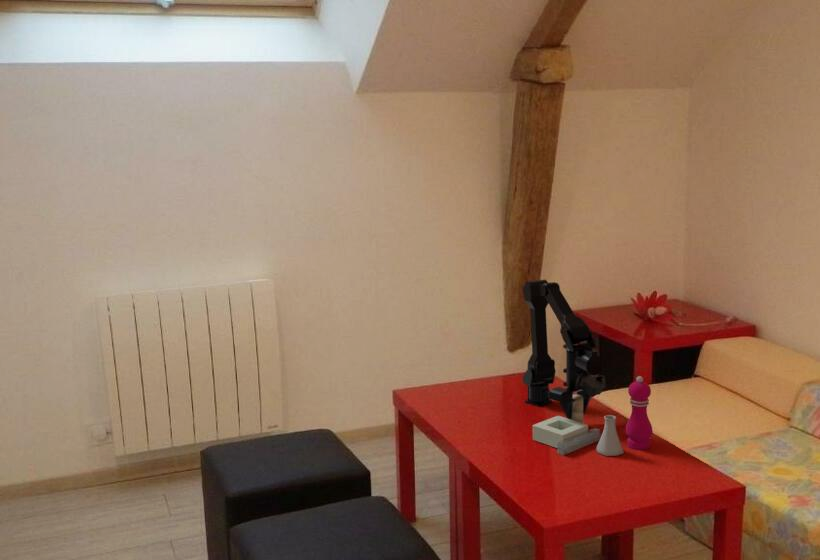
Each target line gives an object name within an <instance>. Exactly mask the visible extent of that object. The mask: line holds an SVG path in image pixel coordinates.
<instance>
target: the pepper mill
mask: <svg viewBox="0 0 820 560" xmlns="http://www.w3.org/2000/svg"><path fill="white" fill-rule="evenodd" d="M635 379H636V381H633V382H632V383H630V384H629V386H628V390H627V391H628V392H627V393H628V395H629V396H630V398H629V400H630V401H629V403H630V405H631V415H630V416H629V419H628V421H627V423H626V426H625V434H626V436H628V437H627V439H626V441H627V442H626V444H627V447H628V448H631V449H633V450H641V451H642V450H643V451H644V450H647V449H649V448H650V447H651V445H652V444H651V443H652V441H651V439H650V438H651V436H653V433H654V431H653V426H652V424H651V421H650V419H649V417H648V406H649V404H650V403H649V402H650V399H649V397H650V396H651V394H652V391H651V389H652V388H651V386H650V385H649V384H648V383H647V382H645V381H644V377H642V376H640V375H638V376H637V377H636V378H635Z"/></svg>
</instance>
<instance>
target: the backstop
mask: <svg viewBox="0 0 820 560" xmlns="http://www.w3.org/2000/svg"><path fill="white" fill-rule="evenodd" d="M600 438H601V429H600V428H595V427H593V428H591V429H588V431H586V432H583V433H581V434H578V435H576V436H574V437H571V438H569V439H566V440H564V441H561V442H559V443H557V448H556V450H557V453H556V454H558V455H560V456H566V455H568V454H569V453H572V452H575V451H577V450H580V449H582V448H584V447H586V446H589V445H591V444H593V443H596V442H599V441H600Z"/></svg>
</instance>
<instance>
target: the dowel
mask: <svg viewBox="0 0 820 560" xmlns="http://www.w3.org/2000/svg"><path fill="white" fill-rule="evenodd" d="M573 399H576V401H575V402H574V403H573V407H572V418H571V420H574V421H577V422H580V423H583V424H584V414H583V396H582V395H577V394H573Z"/></svg>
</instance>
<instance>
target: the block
mask: <svg viewBox="0 0 820 560" xmlns="http://www.w3.org/2000/svg"><path fill="white" fill-rule="evenodd" d="M588 430H589V425H588V424H586V423H584V422H583V423H580V422H577V421H574V420H571V419H568V418H567V417H563V416H561V415H555V416H554V417H551V418H548V419H545V420H543V421H540V422H538V423H535V424H533V425H532V440H533V441H535V442H537V443H542V444H544V445H546V446H549V447H553V448H556V449H557V443H559V442H561V441H564V440H566V439H569V438H571V437H574V436H576V435H578V434H581V433H583V432H586V431H588Z"/></svg>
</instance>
